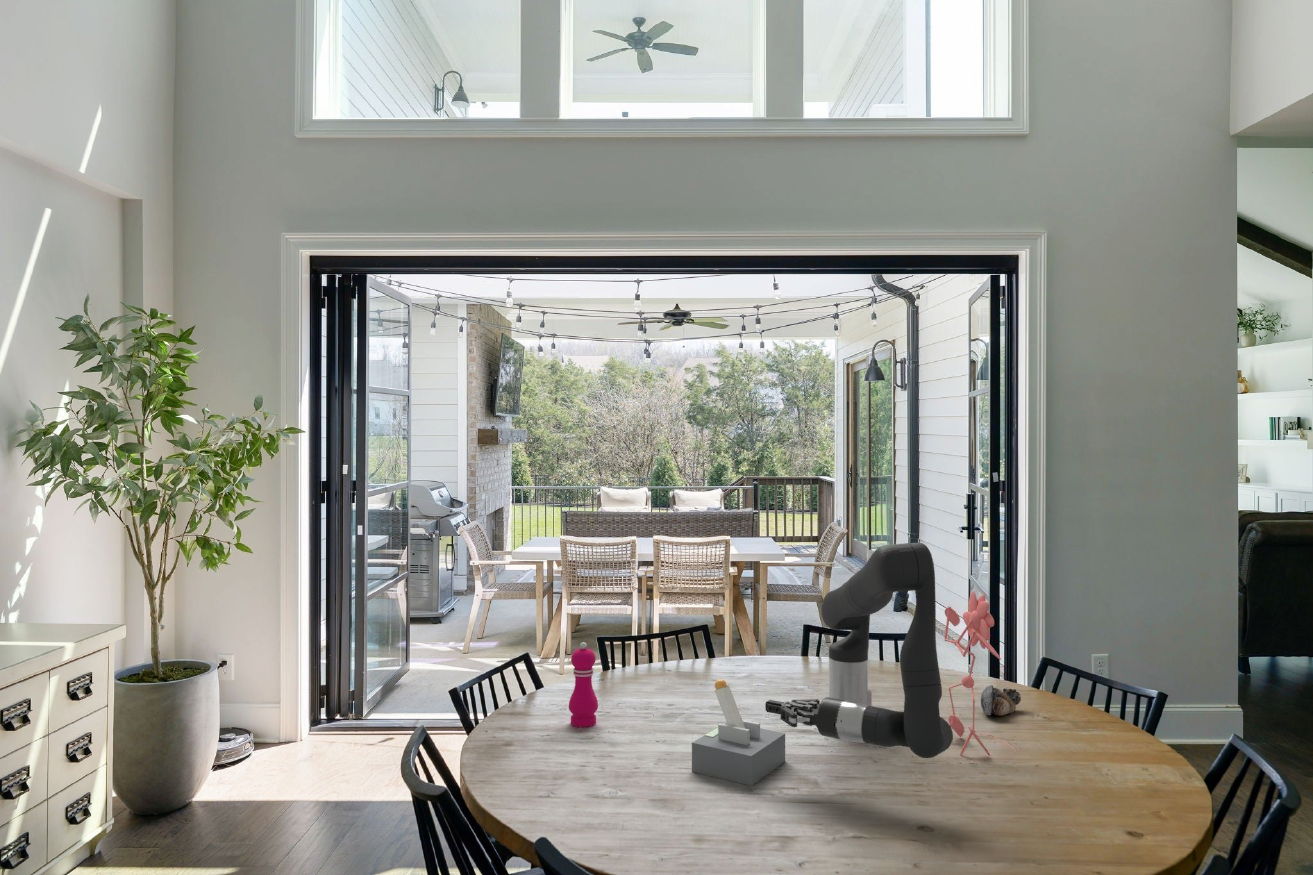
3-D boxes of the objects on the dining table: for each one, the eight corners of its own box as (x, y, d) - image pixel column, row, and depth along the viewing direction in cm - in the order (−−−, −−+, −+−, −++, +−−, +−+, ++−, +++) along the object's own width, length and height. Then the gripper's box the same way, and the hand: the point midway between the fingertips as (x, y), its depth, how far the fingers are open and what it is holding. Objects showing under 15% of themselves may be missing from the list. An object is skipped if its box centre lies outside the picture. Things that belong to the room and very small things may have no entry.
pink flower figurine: (974, 769, 180) (977, 603, 180) (924, 729, 206) (927, 583, 206) (1043, 768, 181) (1046, 603, 182) (985, 728, 207) (988, 584, 208)
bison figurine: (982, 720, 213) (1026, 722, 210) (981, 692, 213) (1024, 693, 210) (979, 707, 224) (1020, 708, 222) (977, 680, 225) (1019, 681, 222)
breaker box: (728, 748, 193) (728, 708, 193) (785, 761, 185) (785, 719, 185) (691, 771, 180) (691, 728, 180) (751, 785, 172) (751, 741, 172)
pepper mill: (593, 729, 206) (593, 646, 206) (564, 727, 207) (564, 644, 208) (601, 719, 213) (601, 639, 213) (573, 717, 215) (573, 638, 215)
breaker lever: (739, 736, 184) (717, 679, 187) (748, 733, 183) (726, 676, 186) (732, 740, 182) (710, 683, 185) (742, 737, 180) (719, 679, 183)
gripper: (857, 693, 175) (780, 680, 184) (832, 709, 164) (752, 695, 173) (857, 729, 175) (780, 715, 184) (832, 749, 164) (752, 732, 173)
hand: (767, 705), depth 179 cm, fingers closed
